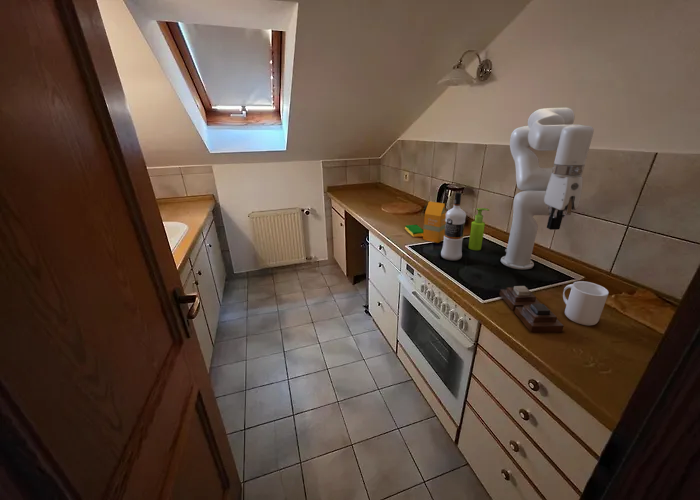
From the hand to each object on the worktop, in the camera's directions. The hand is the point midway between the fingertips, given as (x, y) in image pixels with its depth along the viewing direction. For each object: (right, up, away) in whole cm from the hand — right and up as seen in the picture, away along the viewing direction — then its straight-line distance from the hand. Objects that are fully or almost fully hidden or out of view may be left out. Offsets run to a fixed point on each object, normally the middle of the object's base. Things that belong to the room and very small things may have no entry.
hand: (552, 228), depth 96 cm
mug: (+7, -28, -1) cm, 29 cm away
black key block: (-7, -29, -4) cm, 30 cm away
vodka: (-19, -10, +42) cm, 47 cm away
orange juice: (-21, -1, +63) cm, 67 cm away
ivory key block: (-7, -25, +6) cm, 27 cm away
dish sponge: (-28, +3, +74) cm, 79 cm away
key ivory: (-7, -22, +5) cm, 23 cm away
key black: (-8, -26, -5) cm, 27 cm away
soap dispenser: (-3, -6, +50) cm, 51 cm away
